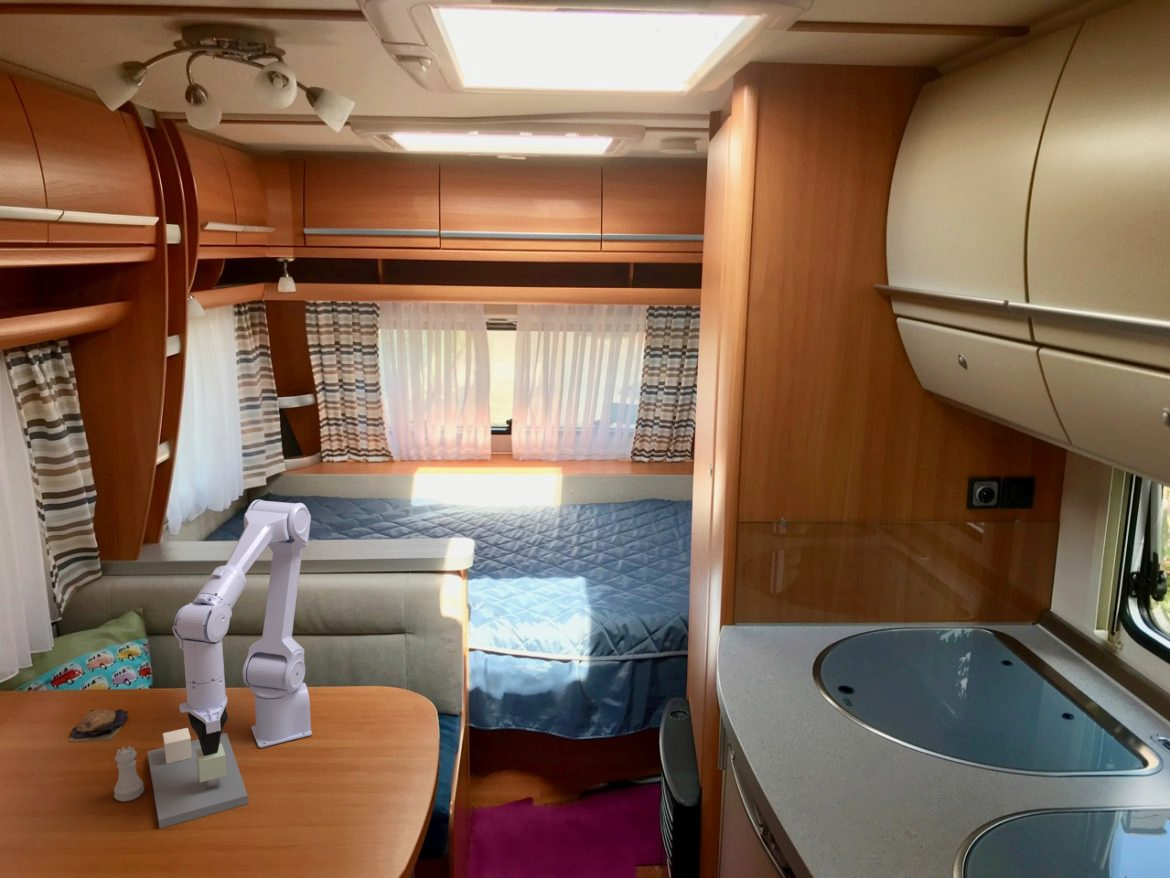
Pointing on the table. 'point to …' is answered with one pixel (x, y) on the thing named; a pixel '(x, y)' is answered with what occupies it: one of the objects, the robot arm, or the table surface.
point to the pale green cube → (211, 764)
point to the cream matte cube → (177, 745)
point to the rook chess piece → (127, 776)
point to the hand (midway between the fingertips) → (210, 752)
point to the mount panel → (193, 786)
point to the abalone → (99, 725)
